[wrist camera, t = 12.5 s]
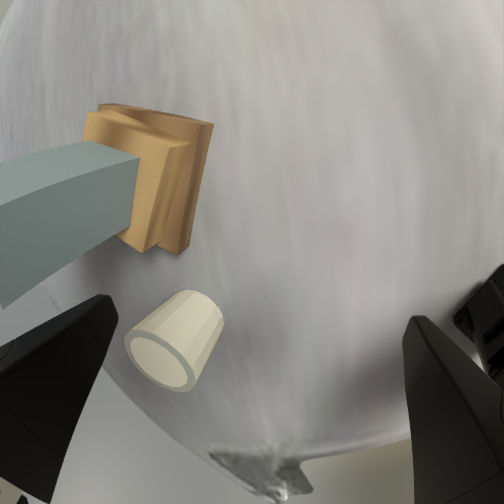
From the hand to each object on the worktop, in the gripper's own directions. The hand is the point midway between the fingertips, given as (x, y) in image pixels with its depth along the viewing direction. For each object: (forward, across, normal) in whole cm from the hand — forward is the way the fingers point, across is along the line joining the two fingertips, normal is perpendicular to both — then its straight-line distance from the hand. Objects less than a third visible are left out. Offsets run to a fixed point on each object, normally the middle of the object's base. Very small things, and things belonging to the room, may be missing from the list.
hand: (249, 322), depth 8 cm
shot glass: (+14, +8, +12) cm, 20 cm away
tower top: (+13, +11, -1) cm, 17 cm away
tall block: (+10, +12, -1) cm, 16 cm away
